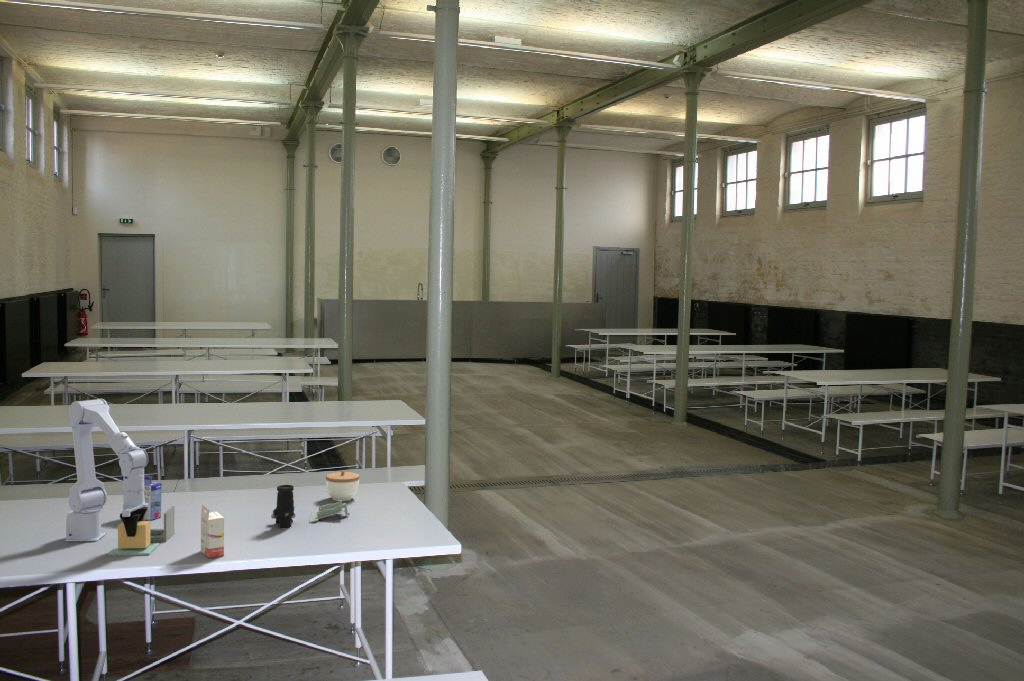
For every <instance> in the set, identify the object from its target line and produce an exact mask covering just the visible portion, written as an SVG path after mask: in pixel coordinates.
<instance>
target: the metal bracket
mask: <svg viewBox="0 0 1024 681" xmlns="http://www.w3.org/2000/svg"><path fill="white" fill-rule="evenodd" d="M347 505H348V504H347V503H346V502H344V503H343V501H336V502H335V503H327V504H324V505H320V506H318V508H317V509H314V510H312V511H311V516H310V517H309V518H310V519H309V520H308V522H309V523H308V524H312V523H315V522H318V521H319V520H321V519H324V518H326V517H327V518H328V517H331V516H333V515H337V514H341V513H344V514H345V518H346V519H347V518H348V516H350V515H351V514H350V512H348V506H347Z"/></svg>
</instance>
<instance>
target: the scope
mask: <svg viewBox="0 0 1024 681" xmlns="http://www.w3.org/2000/svg"><path fill="white" fill-rule="evenodd" d="M294 487H295V486H294V485H292V484H280V485H277V487H276V491H277V493H276V494H277V495H276V507H275V508H274V509H273V510H272V513H271V516H270V518H271V519H275V524H276V525H278V528H279V529H281V528H288V529H290V527H291V528H292V523H294V521H293V519H294V518H296V516H297V515H296V513H295V508H296V506H295V500H294V489H295V488H294Z"/></svg>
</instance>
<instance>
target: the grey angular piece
mask: <svg viewBox="0 0 1024 681" xmlns="http://www.w3.org/2000/svg"><path fill="white" fill-rule="evenodd" d="M158 534H161V535H158ZM173 535H175V506H174V505H172V506H170V507H169V508H168V509H166V511H165V512H163V528H150V543H151V542H152V543H162V542H163V543H165V541H167V540H168V541H169V539H171V538H172V537H173ZM168 541H167V542H168Z"/></svg>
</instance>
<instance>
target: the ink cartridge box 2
mask: <svg viewBox="0 0 1024 681" xmlns="http://www.w3.org/2000/svg"><path fill="white" fill-rule="evenodd" d="M200 512H201V513H200V552H201V553H202V554H203V555H204V556H205V557H207V558H208V559H211V558H212V559H213V558H219V557H224V556H225V517H224V516H223V515H221V514H220V513H219V512H218V511H212V512H210V509H209V508H208V507H207V506H206V505H205V504H204V503H202V504H201V511H200Z"/></svg>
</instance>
